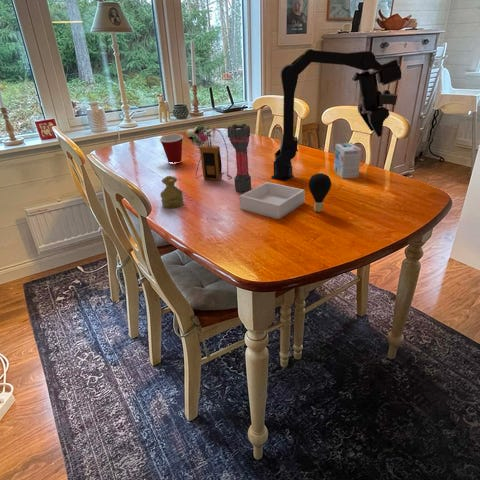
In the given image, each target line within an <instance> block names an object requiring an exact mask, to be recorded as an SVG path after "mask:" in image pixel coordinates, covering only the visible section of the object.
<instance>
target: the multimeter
mask: <svg viewBox="0 0 480 480" xmlns="http://www.w3.org/2000/svg"><path fill="white" fill-rule="evenodd" d="M201 129H203V130H205V131H206V132H205V133H207V132H208V130H207V129H206V128H205V127H204V128H201ZM201 129H200V131H201ZM200 131H199V133H200ZM209 131H210V133H209V135H211V132H212V131H217V132H219V133H220V135H221V137H222V139H223V141H224V145H225V149H226V154H227V155H226V157H227V160H226V161H229V152H228V151H229V150H228V147H227V143H226V140H225V138H224V135H223V134H222V133H221V131H220V130H219V129H216V128H211V130H209ZM199 133H198V136H199ZM206 135H207V144H204V145H202V146H201V145H200V146H199V147H198V148H199V152H200V159H199V160H198V164H197V168H196V171H195V175H197V173H198V170H199V165H200V162H201V168H202V170H201V171H202V175H203V179H204V180H212V181H220V180H221V179H222V178H223V175H224V174H226V176H227V178H228V180H231V179H233V177H232V176H231V175H230V174H229V163H227V171H226V172H222V169H223V168H222V167H223V166H222V164H223V163H222V157H221V147H220V146H219V145H212V140H211V138H209V137H208V133H207V134H206ZM198 136H197V137H198ZM197 144H199V139H197Z"/></svg>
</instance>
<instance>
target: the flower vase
mask: <svg viewBox="0 0 480 480" xmlns="http://www.w3.org/2000/svg"><path fill="white" fill-rule="evenodd" d="M201 128H204V129H205V125H202V126H201V125H200V124H199V125H197V126H196V127H194V128H193V129H192V128H189V129H187V130H186V133H185V134H186V136H187V137H188V136H190V137H192V141H191V144H192V143H196V142H197V141H198V140H199V144H198V143H197V145H196V147H197V146H200V147H201V145H202V146H204V145H205V143H206V142H208V141H207V133H208V138H211V137H213V136H212V135H211V132H210V131H211V130H210V125H208V126H207V127H206V129H205V130H206V131H207V132H206V131H205V130H204V129H201ZM200 129H201V131H200ZM199 131H200V133H199ZM198 133H199V136H198ZM209 133H210V135H209ZM203 144H204V145H203Z"/></svg>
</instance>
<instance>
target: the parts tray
mask: <svg viewBox="0 0 480 480" xmlns="http://www.w3.org/2000/svg"><path fill="white" fill-rule="evenodd" d="M305 193H306V191H305V189H302V188H297V187H292V186H287V185H283V184H279V183H274V182H270V181H265V182H264V183H262V184H260V185H258V186H256V187H254V188H252V189H249V190H248V191H245V192H244V193H242V194H241V195H239V208H240V210H244V211H247V212H249V213H250V212H251V213H255V214H258V215H262V216H265V217H269V218H272V219H276V220H281V219H282V218H283V217H285V216H287V215H288V214H289V213H291V212H293V211H294V210H295V209H297V208H298V207H300V206H302V205H303V204H305V197H306V196H305V195H306V194H305Z"/></svg>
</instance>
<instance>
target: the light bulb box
mask: <svg viewBox="0 0 480 480" xmlns="http://www.w3.org/2000/svg"><path fill="white" fill-rule="evenodd" d="M334 150H335V151H334V161H333V162H334V163H333V171H334V172H335V173H336V174H337V175H338V176H339V177H340V178H341V179H354V178H359V175H360V167H361V166H360V165H361V159H362V149H361V148H360V147H358V146H357V145H356V144H354V143H353V142H346V143H345V142H344V143H335V149H334Z"/></svg>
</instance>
